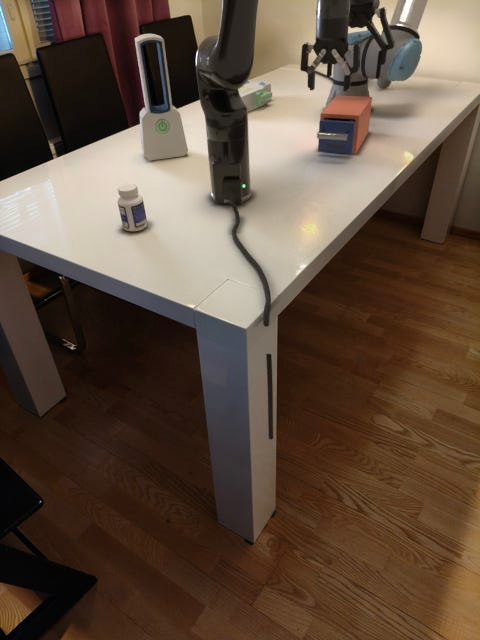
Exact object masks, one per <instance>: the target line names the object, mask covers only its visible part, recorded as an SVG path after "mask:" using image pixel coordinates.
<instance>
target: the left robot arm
mask: <svg viewBox="0 0 480 640" xmlns="http://www.w3.org/2000/svg"><path fill="white" fill-rule="evenodd" d="M259 1H260V0H221V16H220V25H219V30H218V34H217V33H216V34H211V35H208V36H206V37H205V38H204V39H203V40H202V41H201V42H200V43H199V45H198V48H197V50H196V55H195V72H196V81H197V89H198V96H199V103H200V106H201V109H202V112H203V114H204V122H205V132H206V144H207V155H208V166H209V167H208V168H209V179H210V189H211V192H210V195H211V200H212V201H214V203H215V204H216V205H231V207H232V210H233V212H234V215H235V222H234V223H235V224H234V225H233V227H232V229H231V235H232V238H233V241H234V242H235V244H236V245H237V246H238V248H239V249H240V251H241V252H242V253H243V256H245V258H246V259H247V260H248V261H249V262H250V264H251V265H253V267H254V269H256V271H257V273H258V274H259V277H260V279H261V281H262V285H263V289H264V294H265V295H264V296H265V304H264V308H263V317H262V318H263V320H262V321H263V326H264V327H269V325H270V308H271V304H272V297H271V290H270V285H269V282H268V278H267V277H266V275H265V273H264V271H263V269H262V268H261V265H260V264H259V263H258V262H257V261H256V260H255V259H254V257H253V256H252V255H251V254H250V253H249V251H248V250H247V248H246V247H245V246H244V244H243V243H242V242H241V241H240V239H239V237H238V235H237V229H238V227H239V225H240V222H241V220H240V219H241V217H240V212H239V210H238V207H237V205H242V204H243V202H246V201H248V200H250V198H251V196H252V189H251V165H250V162H251V161H250V138H249V135H250V134H249V112H248V110H247V106H246V105H245V103H244V102H243V100H242V99H241V97H240V94H239V91H238V89H240V88H241V87H243V86H244V85H245V83H246V82H247V80H248V81H249V79H250V76H251V74H252V71H253V65H254V61H255V59H254V58H255V47H256V33H257V32H256V31H257V30H256V29H257V17H258V7H259ZM349 13H350V0H317V1H316V10H315V15H316V17H315V41H314V43H310V42H305V43H303V44H302V45H301V53H300V68H299V69H300V71H301V72H305V73H306V74H307V88H308V89H309V91H314V90H315V87H316V73H315V72H314V70H315V71H316V69H317V68H318V66H320V64H322V65H327V64H328V63H330V64H332V65H334V64H337V63H338V64H339V65H340V67H341V68H342V69H343V71H344V72H345V76H344V87H343V92H346V91H347V90H348V89H349V88H350V86H351V75H352V73H356V72H357V71H358V70H359V69H360V52H361V44H360V43H357V44H348V33H349ZM348 49H349V50H350V51H351V54H352V55H353V67H350V65H349V63H348V60H347V59H346V57H345V54H346V52H347V51H348ZM312 50H313V52H314V54H315V55H316V57H315V59H314V60H313V62H312V63H311V64H310V65H309V58H310V57H309V55H310V54H311V53H312ZM343 59H344V60H343ZM265 357H266V358H265V359H266V380H267V381H266V383H267V424H268V425H267V426H268V440H270V441H271V440H273V439H274V390H273V389H274V388H273V387H274V386H273V385H274V384H273V361H272V360H273V358H272V354H271V353H266V354H265Z"/></svg>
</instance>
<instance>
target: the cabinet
mask: <svg viewBox="0 0 480 640" xmlns="http://www.w3.org/2000/svg"><path fill="white" fill-rule="evenodd" d="M372 102H373V97H372V96H370V97H361V96H338V95H336V97H335V98H334V99H333V100H332V101H331V102H330V103H329V104H328V106H327V107H326V106H325V108H324V109H323V110H322V111H321V112H320V116H319V117H320V119H319V121H320V120H325V119H326V118H341V119H355V131H354V142H353V153H352V154H351V155H357V153H358V151H359V149H360V148H361V146H362V144H363V143H364V141H365V139H366V138H367V136H368V134H369V129H370V119H371V111H372Z"/></svg>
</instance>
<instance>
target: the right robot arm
mask: <svg viewBox="0 0 480 640" xmlns="http://www.w3.org/2000/svg"><path fill="white" fill-rule="evenodd" d="M428 1H429V0H397V2H396V5H395V8H394V11H393V14H392V17H391V19H390V23H389V21H388V17H387V7H386V6H383V7H378V9H375V7H374V2H375V0H350V13H349V26H348V28H350V29H355V28H358V29H363V28H365V27H366V30H360V31H354V32H348V44H357V43H360V44H361V52H360V69H359V70H358V71H357V72H356V73H352V75H351V86H350V88H349V89H348V90H347V91H346V92H343V87H344V76H345V72H344V71H343V69H342V68H341V67H340V65H339V64H338V63H337V64H330V63H328V64H326V74H324V73H323V72H320V71H318V70H316V69H315V70H314V73H315V74H318V75H320V76H322V77H324V78H326V79H328V80H331V81H332V85H331V88H330V91H329V95H328V96H327V100H326V102H325V108H326V107H327V106H328V104H329V103H330V102H331V101H332V100H333V99H334V98H335V97H336V95H338V96H361V97H371V95H370V91H369V79H372V80H377V79H380V80H389V81H392V82H405V81H407V80H408V79H409V78H411V77H412V76H413V74H414V73H415V71H416V70H417V67H418V66H419V63H420V61H421V57H422V55H421V54H422V53H423V44H422V41H421V40H420V39H421V34H420V32H419V31H418V30H419V28H420V24H421V21H422V18H423V15H424V12H425V10H426V6H427V4H428ZM375 15H376V16H377V18H378V19H379V20H380V25H381V27H382V31H381V33H380V31H379V30H378V29H377V27H376V26H375V23H374V21H373V18H372V17H374V16H375ZM371 19H372V20H371ZM367 29H368V30H369V31H367ZM345 57H346V59H347V60H348V63H349V65H350V67H353V55H352V54H351V51H350V50H349V49H348V51H347V52H346V54H345ZM343 60H344V59H343Z"/></svg>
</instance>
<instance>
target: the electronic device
mask: <svg viewBox="0 0 480 640" xmlns="http://www.w3.org/2000/svg"><path fill="white" fill-rule="evenodd" d="M150 43H156V48H157V55H158V64H159V70H160V77H161V85H162V92H163V101H164V103H163V104H159V105H152V101H151V100H152V99H151V94H150V93H151V91H150V86H149V80H148V74H147V66H146V61H145V53H144V47H143V46H144V45H147V44H150ZM134 44H135V51H136V52H135V53H136V57H137V64H138V69H139V75H140V83H141V89H142V96H143V102H144V107H142V108H141V110H140V111H139V130H140V143H141V144H140V145H141V151H142V154H143V157H144V158H145V159H146V160H148V162H149V161H156V160H164V159H170V158H172V159H173V158H178V157H185V156H186V154H187V153H188V152H189V149H188V144H187V139H186V134H185V129H184V126H183V120H182V116H181V112H180V111H179V110H178V108H177V107H175V106H174V105H173V100H172V99H173V98H172V93H171V85H170V77H169V69H168V60H167V53H166V45H165V39H164V38H163V37H162V36H161V35H158V34H155V33H143V34H139V35H138V36H136V37H135V38H134Z"/></svg>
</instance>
